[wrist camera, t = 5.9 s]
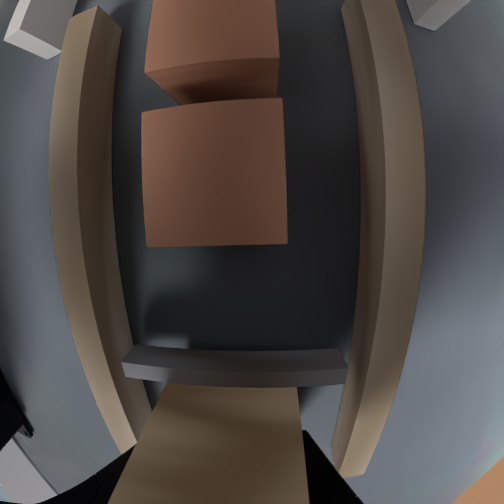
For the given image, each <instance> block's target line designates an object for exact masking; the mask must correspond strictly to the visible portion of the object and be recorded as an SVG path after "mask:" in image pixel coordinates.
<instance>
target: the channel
mask: <svg viewBox="0 0 504 504" xmlns="http://www.w3.org/2000/svg"><path fill="white" fill-rule="evenodd" d="M341 12H342V17H343V21H344V26H345V31H346V37H347V42H348V48H349V54H350V61H351V67H352V75H353V82H354V91H355V100H356V110H357V121H358V135H359V152H360V182H361V220H360V250H359V268H358V282H357V294H356V305H355V314H354V323H353V331H352V339H351V346H350V353H349V360H348V366H347V367H348V372H347V378H346V383H345V384H344V389H343V394H342V399H341V404H340V409H339V414H338V418H337V423H336V427H335V431H334V436H333V440H332V444H331V452H332V457H333V462H334V467H335V469H336V470H337V471H338V473H339V474H340V475H341V476H342V478H346V477H352V476H358V475H363V474H364V472H365V470H366V468H367V466H368V464H369V461H370V459H371V457H372V455H373V452H374V450H375V448H376V445H377V443H378V440H379V438H380V435H381V433H382V430H383V427H384V425H385V422H386V419H387V417H388V414H389V411H390V408H391V405H392V402H393V399H394V396H395V393H396V389H397V386H398V383H399V379H400V376H401V372H402V368H403V365H404V361H405V357H406V353H407V349H408V344H409V340H410V335H411V331H412V326H413V321H414V315H415V310H416V304H417V298H418V291H419V284H420V276H421V268H422V258H423V247H424V233H425V211H426V173H425V151H424V138H423V127H422V118H421V109H420V102H419V95H418V89H417V83H416V78H415V73H414V68H413V63H412V58H411V54H410V50H409V46H408V42H407V38H406V34H405V30H404V27H403V23H402V20H401V17H400V14H399V11H398V7H397V5H396V2H395V0H344V3H343V5H342V8H341ZM121 33H122V28H121V27H120V26H119V25H118V24H117V23H116V22H115V21H114V20H113V19H112V18H111V17H110V16H109V15H108V14H106V13H105V12H104V11H103V10H102V9H101V8H100V7H99V6H95V7H93V8H91V9H88V10H86V11H84V12H81V13H79V14H77V15H75V16H73V17H71V18H70V19H69V23H68V26H67V30H66V34H65V37H64V41H63V46H62V50H61V54H60V59H59V64H58V69H57V75H56V81H55V87H54V94H53V102H52V111H51V122H50V137H49V199H50V214H51V226H52V235H53V243H54V251H55V257H56V264H57V270H58V275H59V281H60V286H61V291H62V295H63V300H64V304H65V308H66V313H67V317H68V320H69V324H70V328H71V331H72V335H73V338H74V342H75V345H76V348H77V351H78V355H79V358H80V361H81V364H82V366H83V369H84V372H85V375H86V378H87V380H88V383H89V385H90V388H91V391H92V393H93V395H94V398H95V400H96V403H97V405H98V407H99V410H100V412H101V414H102V416H103V419H104V421H105V423H106V425H107V427H108V429H109V431H110V433H111V435H112V437H113V439H114V441H115V443H116V445H117V447H118V449H119V451H120V452H121V454H123V453H125V452H126V451H127V450H129V449H130V448H131V447H133V446H134V445H135V444H136V443H137V441H138V439H139V437H140V435H141V433H142V431H143V429H144V427H145V425H146V423H147V421H148V419H149V417H150V415H151V413H152V410H151V407H150V403H149V400H148V397H147V394H146V390H145V387H144V383H143V380H142V379H137V378H130V377H125V373H124V370H123V366H122V363H121V362H122V360H123V359H124V358H125V357H126V355H127V354H128V353H129V352H130V351H131V349H132V348H133V347H134V345H133V340H132V336H131V331H130V327H129V322H128V317H127V312H126V306H125V301H124V295H123V289H122V283H121V276H120V269H119V262H118V254H117V245H116V236H115V225H114V212H113V195H112V162H111V147H112V115H113V99H114V87H115V76H116V68H117V60H118V52H119V46H120V39H121Z"/></svg>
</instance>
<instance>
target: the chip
mask: <svg viewBox="0 0 504 504" xmlns="http://www.w3.org/2000/svg"><path fill="white" fill-rule="evenodd" d="M279 62H280V52H279V39H278V27H277V16H276V5H275V0H153V6H152V12H151V18H150V25H149V32H148V40H147V49H146V58H145V69H144V73H145V74H146V75H147V76H149V77H150V78H151V79H152V80H153V81H154V82H155V83H156V84H158V85H159V86H160V87H161V88H162V89H163V90H164V91H165V92H167V93H168V94H169V95H170V96H171V97H172V98H173V99H174V100H175V101H176V102H178V103H179V104H180V105H186V104H194V103H203V102H212V101H224V100H238V99H260V98H276V97H277V86H278V74H279Z"/></svg>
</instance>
